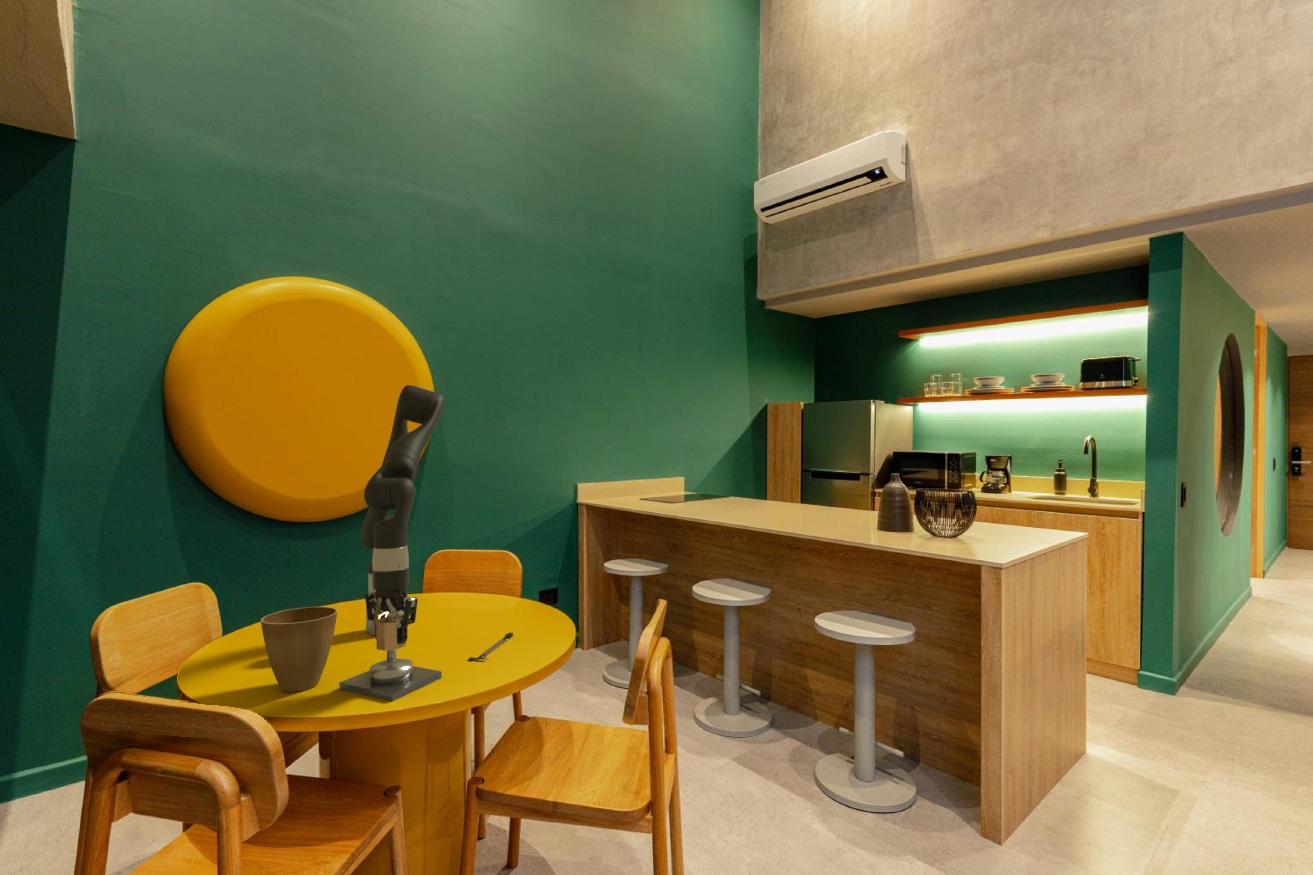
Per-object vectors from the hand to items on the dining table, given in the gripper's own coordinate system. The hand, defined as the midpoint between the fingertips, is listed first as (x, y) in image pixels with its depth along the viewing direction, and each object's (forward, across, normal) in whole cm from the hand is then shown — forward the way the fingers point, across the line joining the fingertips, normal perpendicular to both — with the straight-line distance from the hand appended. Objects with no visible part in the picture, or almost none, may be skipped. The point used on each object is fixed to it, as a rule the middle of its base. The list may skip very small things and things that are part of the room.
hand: (391, 640), depth 140 cm
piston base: (+10, 0, 0) cm, 10 cm away
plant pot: (+10, -18, -9) cm, 22 cm away
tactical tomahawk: (+10, +7, +29) cm, 31 cm away
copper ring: (+1, 0, 0) cm, 1 cm away
